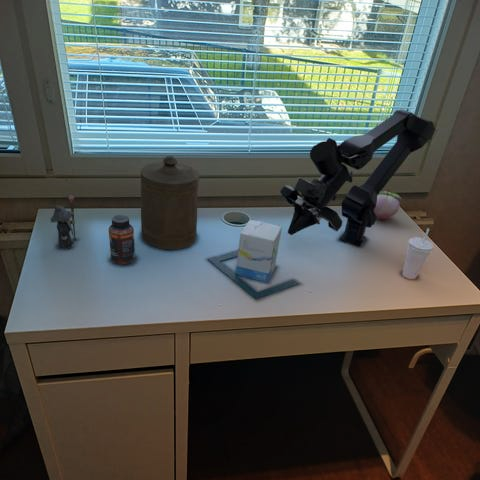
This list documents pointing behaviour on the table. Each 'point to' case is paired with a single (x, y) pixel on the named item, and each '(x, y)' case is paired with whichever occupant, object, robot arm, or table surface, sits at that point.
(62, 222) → the wizard figurine
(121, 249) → the supplement bottle
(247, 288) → the frame
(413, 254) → the smoothie
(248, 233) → the ink box
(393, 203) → the decorative fruit
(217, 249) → the table surface
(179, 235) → the wooden container
